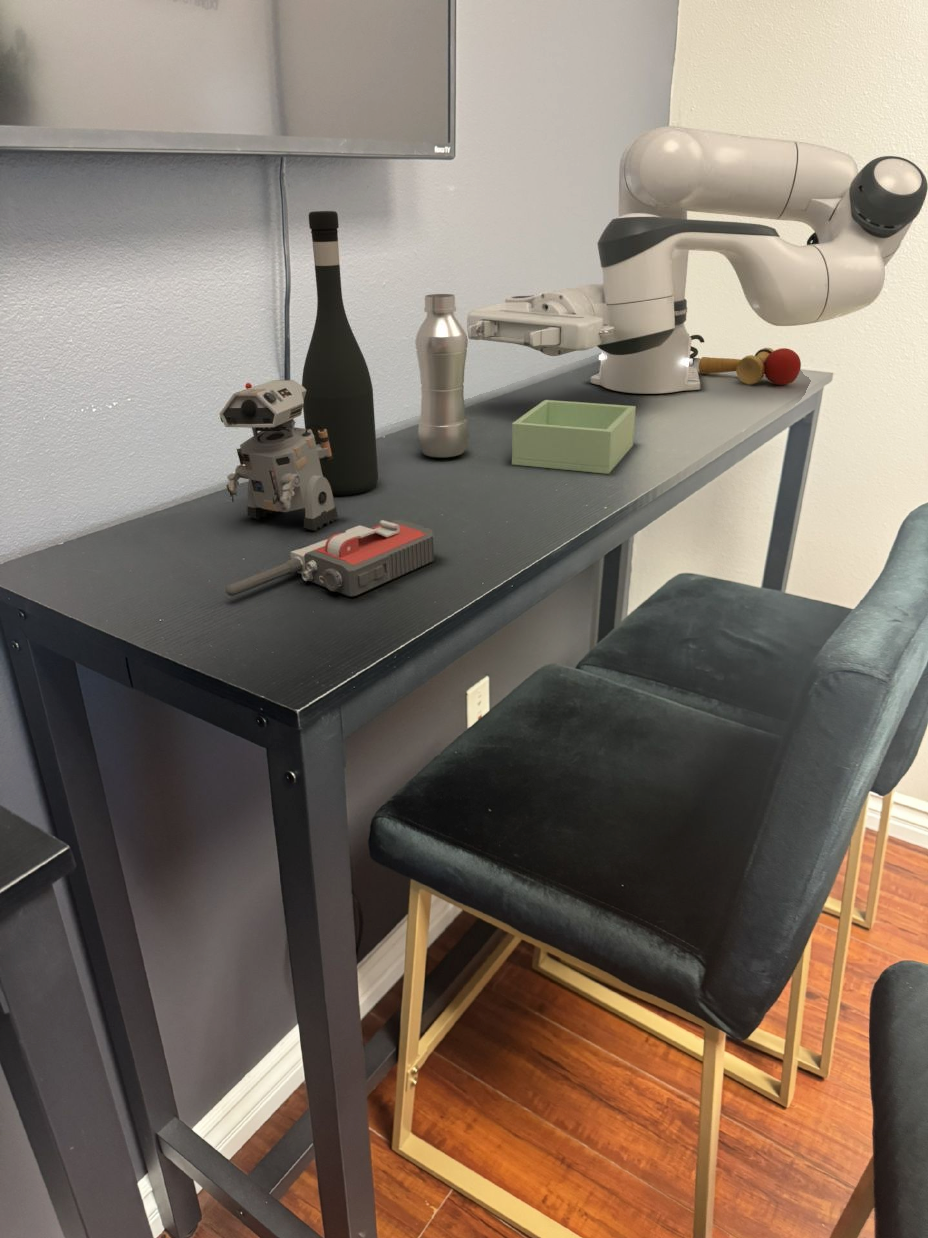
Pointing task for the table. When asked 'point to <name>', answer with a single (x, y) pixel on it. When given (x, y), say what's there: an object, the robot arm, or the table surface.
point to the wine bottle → (338, 374)
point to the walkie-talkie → (354, 558)
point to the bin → (573, 436)
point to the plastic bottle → (442, 379)
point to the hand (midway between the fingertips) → (499, 336)
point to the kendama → (757, 366)
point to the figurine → (280, 454)
